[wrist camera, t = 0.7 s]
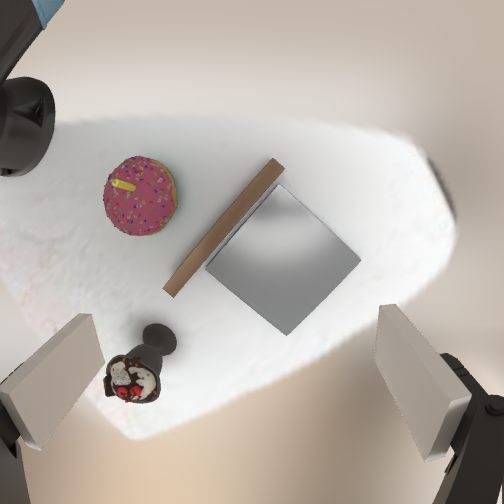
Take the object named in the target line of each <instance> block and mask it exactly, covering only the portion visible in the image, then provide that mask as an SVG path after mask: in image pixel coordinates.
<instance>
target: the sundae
mask: <svg viewBox="0 0 504 504" xmlns="http://www.w3.org/2000/svg"><path fill="white" fill-rule="evenodd" d="M143 342H144V344H141V345H138V346H137V347H135V348H134V349H132V350H131V351H130V352H129V353H127V354H126V355H117V356H115V357H114V358H112V359H111V361H110V362H109V363H108V365H107V368H106V374H107V376H106V377H105V378H104V379H103V381H104V389H105V395H106V396H107V397H110V396H115V395H116V396H118V397H119V398H120V399H122V400H126V401H125V403H127V402H132V403H142V404H143V403H149V402H153V401H155V400H156V399H157V398H158V397H159V394H160V391H161V384H160V378H159V375H160V372H161V368H162V356H161V355H163V356H165V355H169V354H171V353H172V352H173V351H174V350H175V348H176V345H177V341H176V337H175V335H174V334H173V332H172V331H171V330H170V329H169V328H167V327H166V326H163V325H161V324H152V325H149V326H147V327H146V328H145V330H144V332H143Z"/></svg>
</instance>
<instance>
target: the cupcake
mask: <svg viewBox="0 0 504 504" xmlns="http://www.w3.org/2000/svg"><path fill="white" fill-rule="evenodd" d="M106 182H107V183H106V185H105V186H104V187H105V189H104V195H103V197H104V198H103V201H104V205H105V211H106V214H107V217H109V219H110V220H111V222H112V223H113V224H114V227H117V228H118V229H119V230H120V231H123V232H124V233H126V234H129V235H133V236H143V235H152V234H155V233H157V232H159V231H161V230H162V229H163V228H164V226H165V225H166V224H167V222H168V221H169V220H170V218H171V217H172V215H173V213H174V212H175V210H176V208H177V195H176V188H175V183H174V180H173V178H172V175H171V174H170V172H169V171H168V169H167V168H166V167H164V166H163V165H162V164H160V163H159V162H158V161H156V160H153V159H149V158H144V157H141V156H135V157H131V158H129V159H126V160H125V161H124V162H123V163H122V164H120V165H119V166H118V167H117V168H115V169H114V171H113V173H112V174H110V175H109V177H108V181H106Z"/></svg>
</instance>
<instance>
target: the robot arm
mask: <svg viewBox="0 0 504 504" xmlns="http://www.w3.org/2000/svg"><path fill="white" fill-rule="evenodd" d="M64 1H65V0H0V176H4V177H12V176H21V175H24V174H26V173H27V172H29V171H30V170H32V169H33V168H34V167H35V166H36V165H37V164H38V162H39V161H40V160H41V158H42V157H43V155H44V153H45V152H46V150H47V147H48V145H49V143H50V140H51V137H52V133H53V129H54V124H55V102H54V98H53V95H52V93H51V90H50V89H49V87H48V86H47V85H46V84H45V83H44V82H42V81H40V80H37V79H34V78H31V77H19V78H13V79H8V80H6V78H7V77H8V75H9V74H10V72H11V71H12V69H13V68H14V67H15V65H16V64H17V62H18V61H19V59H20V58H21V57H22V56H23V54H24V53H25V51H26V50H27V49H28V48H29V46H30V45H31V44H32V42H33V41H34V40H35V38H36V37H37V36H38V35H39V34H40V32H41V31H42V30H44V29H45V28H46V26H47V23H48V22H49V21H50V19H51V18H52V17H53V16H54V14H55V13H56V12H57V11H58V10H59V8H60V7H61V6H62V5H63V3H64ZM373 359H374V361H375V363H376V365H377V367H378V369H379V371H380V372H381V374H382V376H383V378H384V380H385V382H386V384H387V386H388V388H389V390H390V392H391V394H392V396H393V398H394V400H395V402H396V404H397V405H398V408H399V410H400V412H401V414H402V416H403V418H404V420H405V422H406V424H407V426H408V428H409V430H410V432H411V435H412V437H413V439H414V441H415V443H416V445H417V447H418V449H419V452H420V454H421V456H422V458H423V460H424V462H425V463H426V462H429V461H432V460H436V459H439V458H442V457H445V454H446V453H447V451H448V449H449V447H450V445H451V447H452V449H453V450H454V452H455V453H454V455H453V457H452V459H451V461H450V463H449V465H448V466H447V468H446V470H445V473H446V474H445V477H444V479H443V482H442V484H441V486H440V489H439V491H438V493H437V495H436V497H435V500H434V502H433V504H496V503H497V500H498V496H499V492H500V488H501V484H502V504H504V397H502V396H499V395H488V394H487V393H486V392H485V390H484V389H483V388H482V387H481V386H480V384H479V383H478V382H477V381H476V380H475V378H474V377H473V376H472V375H470V373H469V372H468V370H467V369H466V368H464V366H463V365H462V364H461V362H460V361H459V360H458V359H457V358H455V357H453V356H452V355H450V354H448V353H444V354H438V352H436V350H435V349H434V348H433V347H432V345H431V344H430V343H429V342H428V341H427V339H426V338H425V337H424V336H423V335H422V334H421V332H420V331H419V330H418V329H417V328H416V327H415V326H414V324H413V323H412V322H411V321H410V320H409V319H408V318H407V317H406V315H404V313H403V312H402V311H401V310H400V309H399V308H398V306H397V305H396V304H390V305H379V315H378V325H377V334H376V342H375V349H374V356H373ZM104 364H105V361H104V358H103V354H102V351H101V348H100V344H99V341H98V337H97V334H96V330H95V326H94V322H93V318H92V314H78V315H77V316H76V317H74V318H73V319H72V320H71V321H70V322H69V323H67V324H66V325H65V326H64V327H63V328H62V329H61V330H59V331H58V332H57V333H56V334H55V335H54V336H53V337H52V338H50V339H49V340H48V341H47V342H46V343H45V344H44V345H43V346H42V347H40V348H39V349H38V350H37V351H36V352H35V353H34V354H33V355H32V356H31V357H30V358H28V359H27V360H26V361H25V362H24V363H22V364H20V366H18V367H17V368H16V369H15V370H14V372H12V373H11V374H10V375H9V377H7V378H6V379H5V380H3V381H2V382H1V384H0V504H31V503H30V499H29V494H28V489H27V484H26V480H25V474H24V468H23V461H22V455H21V447H20V445H19V443H18V441H17V439H18V438H19V436H20V435H21V437H22V438H23V440H24V441H25V443H26V444H27V446H29V447H31V448H34V449H37V450H39V451H42V449H43V448H44V446H45V445H46V443H47V442H48V441H49V439H50V438H51V436H52V435H53V433H54V432H55V431H56V429H57V428H58V426H59V425H60V423H61V422H62V421H63V419H64V417H65V416H66V415H67V414H68V412H69V411H70V410H71V408H72V407H73V405H74V404H75V403H76V401H77V400H78V398H79V397H80V396H81V394H82V393H83V392H84V390H85V389H86V388H87V386H88V385H89V384H90V382H91V381H92V380H93V378H94V377H95V376H96V374H97V373H98V372H99V370H100V369H101V368H102V366H103V365H104Z"/></svg>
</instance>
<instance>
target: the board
mask: <svg viewBox="0 0 504 504" xmlns="http://www.w3.org/2000/svg"><path fill="white" fill-rule="evenodd" d="M360 261H361V259H360V258H359V257H358V256H357V255H356V254H355V253H354V252H353V251H352V250H350V249H349V248H348V247H347V246H346V245H345V244H344V243H343V242H342V241H341V240H340V239H339V238H338V237H337V236H336V235H335V234H334V233H333V232H332V231H331V230H329V229H328V228H327V227H326V226H325V225H324V224H323V223H322V222H321V221H320V220H319V219H318V218H317V217H316V216H314V215H313V214H312V213H311V212H310V211H309V210H308V209H307V208H306V207H305V206H303V205H302V204H301V203H300V202H299V201H298V200H297V199H296V198H295V197H293V196H292V195H291V194H290V193H289V192H288V191H287V190H286V189H284V188H283V187H282V186H281V185H280V184H278V186H277V187H276V188H275V189H274V190H273V191H272V192H271V193H270V195H269V196H268V197H267V198H266V199H265V200H264V201H263V202H262V204H261V205H260V206H259V207H258V208H257V209H256V210H255V211H254V213H253V214H252V215H251V216H250V217H249V218H248V219H247V221H246V222H245V223H244V224H243V225H242V226H241V227H240V229H239V230H238V231H237V232H236V233H235V234H234V235H233V237H232V238H231V239H230V240H229V241H228V242H227V244H226V245H225V246H224V247H223V248H222V249H221V250H220V252H219V253H218V254H217V255H216V256H215V257H214V259H213V260H212V261H211V262H210V263H209V264H208V266H207V267H206V268H205V270H206V271H208V272H209V273H210V274H211V275H212V276H214V277H215V278H216V279H217V280H218V281H219V282H221V283H222V284H223V285H224V286H225V287H227V288H228V289H229V290H230V291H231V292H233V293H234V294H235V295H236V296H238V297H239V298H240V299H241V300H242V301H244V302H245V303H246V304H247V305H249V306H250V307H251V308H252V309H253V310H255V311H256V312H257V313H258V314H260V315H261V316H262V317H263V318H265V319H266V320H267V321H268V322H270V323H271V324H272V325H273V326H275V327H276V328H277V329H278V330H280V331H281V332H282V333H283V334H285V335H286V336H287V335H288V334H289V333H291V332H292V331H293V330H294V329H295V328H296V327H297V326H298V325H299V324H300V323H301V322H302V321H303V320H304V319H305V318H306V317H307V316H308V315H309V314H310V313H311V312H312V311H313V310H314V309H315V308H316V307H317V306H318V305H319V304H320V303H321V302H322V301H323V300H324V299H325V298H326V297H327V296H328V295H329V294H330V293H331V292H332V291H333V290H334V289H335V288H336V287H337V286H338V285H339V284H340V283H341V282H342V280H343V279H344V278H345V277H346V276H347V275H348V274H349V273H350V272H351V271H352V270H353V269H354V268H355V267H356V266H357V265H358V263H359V262H360Z"/></svg>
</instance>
